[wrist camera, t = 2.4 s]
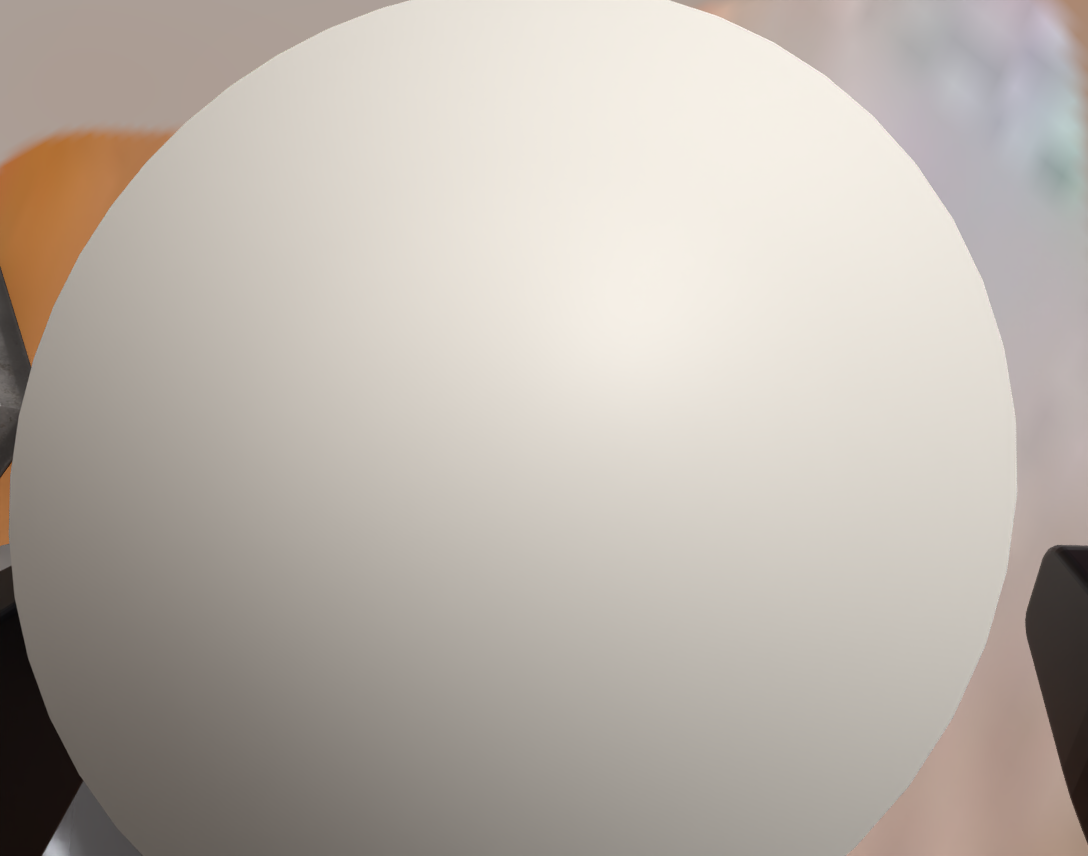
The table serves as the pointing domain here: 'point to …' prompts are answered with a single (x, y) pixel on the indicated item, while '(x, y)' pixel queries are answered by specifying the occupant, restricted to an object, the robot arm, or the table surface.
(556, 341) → the white domed cylinder
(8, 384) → the figurine
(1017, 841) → the table surface
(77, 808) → the mount
